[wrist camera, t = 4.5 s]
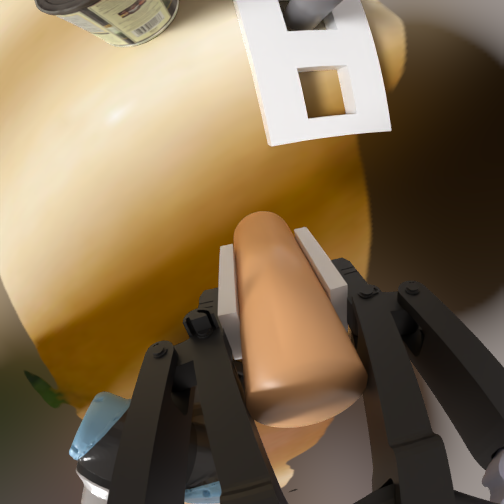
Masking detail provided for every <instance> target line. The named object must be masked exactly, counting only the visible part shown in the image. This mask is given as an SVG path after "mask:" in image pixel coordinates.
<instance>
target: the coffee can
mask: <svg viewBox="0 0 504 504" xmlns="http://www.w3.org/2000/svg"><path fill="white" fill-rule="evenodd" d="M35 4H36V6H37V8H38V9H39V10H40V11H42V12H44V13H47V14H49V15H55V16H57V17H59V18H61V19H64V20H66V21H68V22H70V23H72V24H74V25H76V26H78V27H80V28H82V29H84V30H86V31H88V32H90V33H92V34H93V35H95V36H97V37H99V38H101V39H102V40H104V41H105V42H107V43H108V44H110V45H113V46H115V47H132V46H136V45H140V44H143V43H145V42H147V41H149V40H151V39H153V38H154V37H156V36H157V35H159V34H160V33H161V32H162V31H164V30H165V29H166V28H167V27H168V26H169V24H170V23H171V22H172V21H173V19H174V17H175V15H176V13H177V10H178V6H179V0H35Z"/></svg>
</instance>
